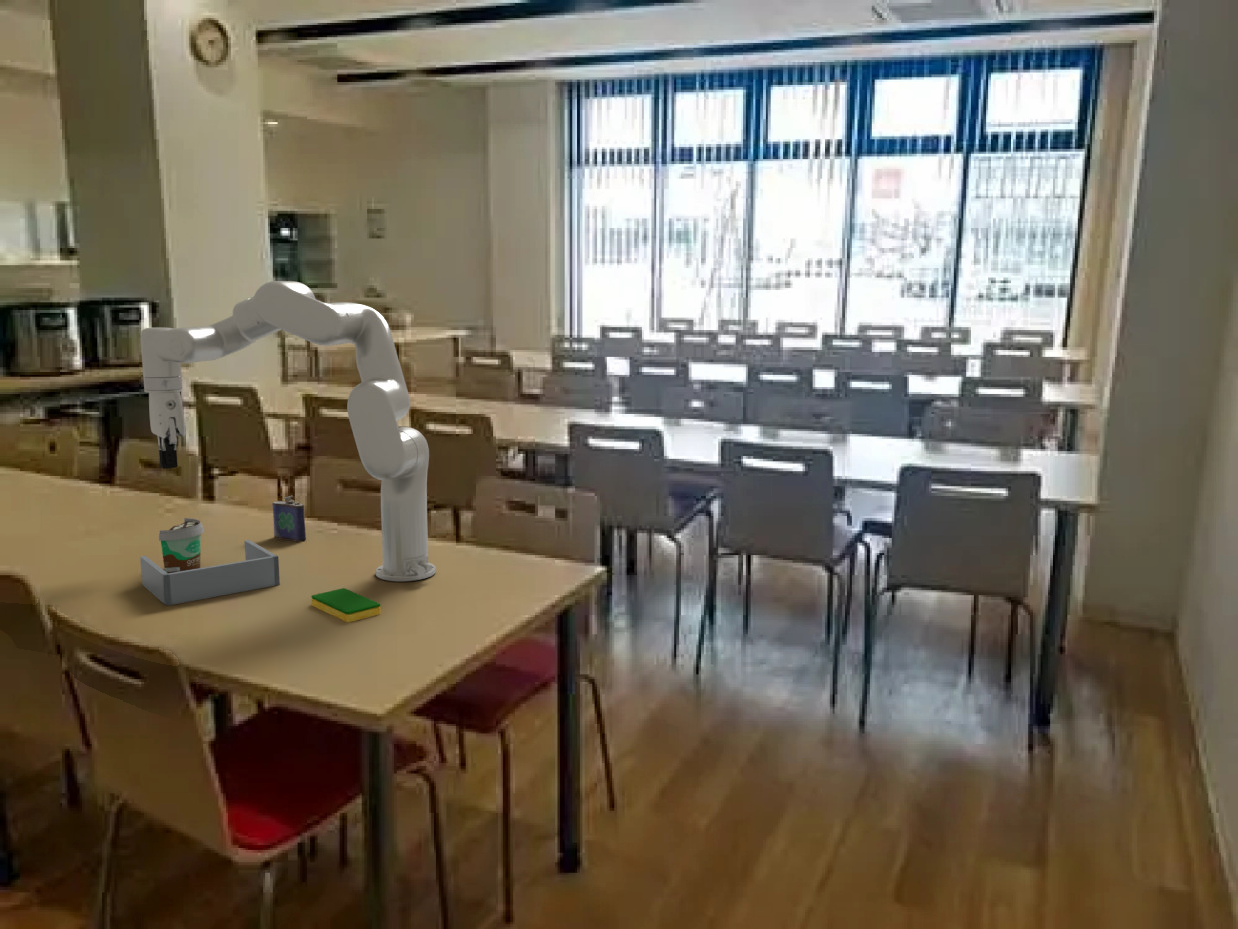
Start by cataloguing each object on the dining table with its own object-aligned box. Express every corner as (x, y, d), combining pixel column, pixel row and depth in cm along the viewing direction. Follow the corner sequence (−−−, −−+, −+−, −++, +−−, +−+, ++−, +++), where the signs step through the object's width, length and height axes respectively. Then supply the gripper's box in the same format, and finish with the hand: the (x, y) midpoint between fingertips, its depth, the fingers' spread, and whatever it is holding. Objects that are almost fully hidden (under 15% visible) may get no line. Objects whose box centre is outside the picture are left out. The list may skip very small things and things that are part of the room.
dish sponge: (344, 599, 191) (343, 587, 191) (381, 615, 182) (381, 603, 181) (311, 607, 186) (310, 595, 186) (347, 624, 177) (347, 612, 176)
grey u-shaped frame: (279, 584, 199) (278, 556, 198) (166, 605, 185) (164, 575, 184) (250, 566, 212) (249, 539, 211) (142, 584, 198) (140, 556, 197)
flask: (271, 538, 236) (269, 495, 234) (280, 535, 239) (278, 493, 237) (301, 542, 232) (299, 499, 230) (309, 539, 235) (307, 496, 233)
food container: (190, 577, 203) (187, 531, 201) (161, 577, 203) (158, 531, 201) (216, 561, 215) (213, 517, 213) (188, 561, 215) (185, 517, 214)
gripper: (191, 386, 207) (197, 470, 210) (171, 381, 218) (176, 461, 221) (154, 388, 202) (160, 474, 205) (135, 382, 213) (141, 464, 216)
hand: (169, 467), depth 213 cm, fingers closed
